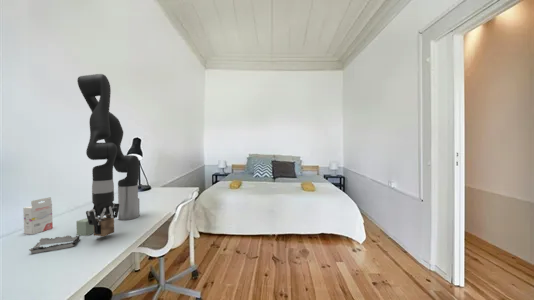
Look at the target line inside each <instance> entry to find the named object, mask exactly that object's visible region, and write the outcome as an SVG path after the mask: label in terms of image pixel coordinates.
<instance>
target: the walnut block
mask: <svg viewBox="0 0 534 300" xmlns="http://www.w3.org/2000/svg"><path fill="white" fill-rule="evenodd" d="M97 222H98V220H97ZM100 225H101V234H95V232H94V233H93V236H96V237H106V236H108V235H111V234H114V233H115V218H106V216H104V217H103V219H102V220H101V224H100Z"/></svg>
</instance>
